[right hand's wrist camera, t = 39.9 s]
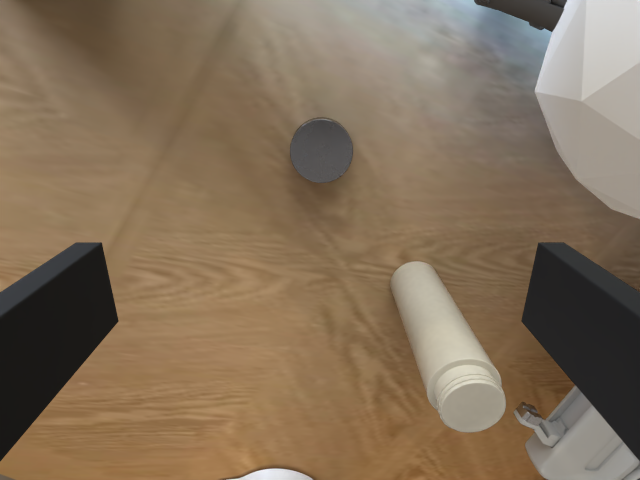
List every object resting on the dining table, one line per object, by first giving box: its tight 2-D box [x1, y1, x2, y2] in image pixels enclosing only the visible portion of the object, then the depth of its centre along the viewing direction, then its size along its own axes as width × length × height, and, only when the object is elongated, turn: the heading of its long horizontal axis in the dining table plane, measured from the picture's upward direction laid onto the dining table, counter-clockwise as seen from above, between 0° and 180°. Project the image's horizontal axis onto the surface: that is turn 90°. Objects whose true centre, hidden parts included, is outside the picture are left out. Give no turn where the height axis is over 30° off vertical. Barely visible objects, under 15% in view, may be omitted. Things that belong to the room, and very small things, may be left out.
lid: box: [290, 117, 353, 183], centre depth 39 cm, size 6×6×2 cm
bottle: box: [390, 261, 506, 433], centre depth 37 cm, size 6×6×19 cm
